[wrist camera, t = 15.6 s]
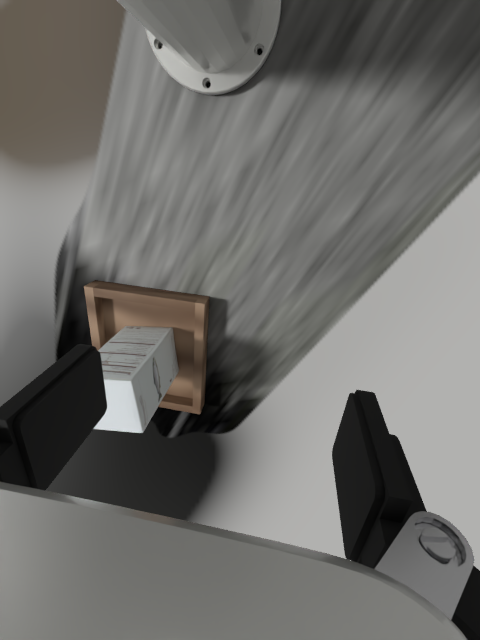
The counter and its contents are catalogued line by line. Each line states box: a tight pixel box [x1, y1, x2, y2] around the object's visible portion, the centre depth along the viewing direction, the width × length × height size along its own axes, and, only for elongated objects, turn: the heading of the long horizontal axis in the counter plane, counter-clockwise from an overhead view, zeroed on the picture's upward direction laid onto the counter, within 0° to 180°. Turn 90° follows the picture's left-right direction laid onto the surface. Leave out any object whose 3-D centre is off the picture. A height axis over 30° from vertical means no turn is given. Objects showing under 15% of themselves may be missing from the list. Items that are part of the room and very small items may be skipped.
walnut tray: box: [84, 280, 209, 414], centre depth 45 cm, size 18×16×2 cm
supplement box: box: [94, 326, 179, 433], centre depth 39 cm, size 7×7×13 cm
